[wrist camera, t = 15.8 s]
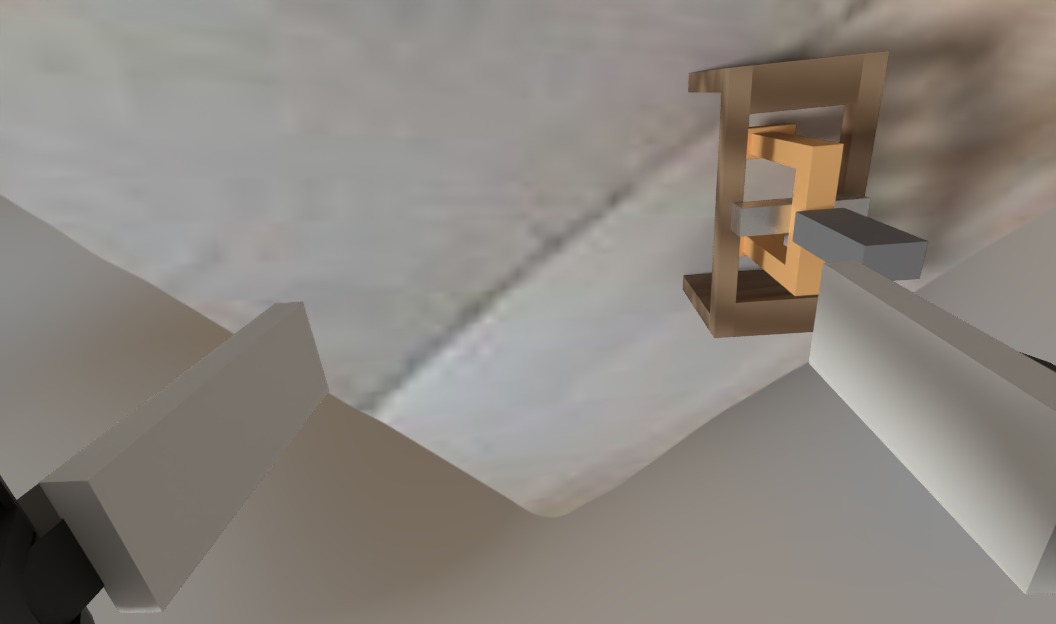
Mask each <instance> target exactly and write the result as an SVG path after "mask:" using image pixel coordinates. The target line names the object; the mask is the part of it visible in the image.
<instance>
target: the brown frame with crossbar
mask: <svg viewBox="0 0 1056 624" xmlns="http://www.w3.org/2000/svg"><path fill="white" fill-rule="evenodd" d="M888 56H889V51H882V52H873V53H864V54H854V55H845V56H835V57H826V58H817V59H807V60H798V61H788V62H779V63H770V64H760V65H751V66H741V67H732V68H724V69H717V70H710V71H702V72H695V73H689V88H688V92H722V93H721V112H720V131H719V150H718V169H717V188H716V207H715V227H714V246H713V265H712V274H699V275H685V276H683V291H684V292H685V294H686V295H687V297H688V298H689V300H690V301H691V303H692V304H693V306H694V308H695V309H696V311H697V312H698V314H699V315H700V317H701V318H702V320H703V321H704V323H705V324H706V326H707V328H708V329H709V331H710V332H711V334H712V335H713V337H714V338H722V337H738V336H754V335H770V334H786V333H802V332H813V330H814V323H815V316H816V309H817V302H818V295H819V294H817V295H802V296H794V295H793V294H792V293H791V292H789V291H788V290H787V289H786V288H785V287H784V286H782V285H781V284H780V283H779V282H778V281H777V280H775V279H774V278H773V277H772V276H771V275H770V274H768V273H767V272H766V271H765V270H754V271H740V272H738V264H739V250H740V237H739V236H738V235H737V234H736V233H734V232H733V231H732V230H731V218H732V203H738V202H743V196H744V182H745V169H746V155H747V142H748V128H749V115H750V114H755V113H765V112H775V111H785V110H795V109H806V108H816V107H826V106H836V105H845V109H844V116H843V123H842V130H841V137H840V143H841V144H844V145H843V152H842V159H841V166H840V172H839V179H838V186H837V193H836V194H844V193H857V194H860V195H863V196H865V192H866V186H867V180H868V174H869V168H870V162H871V156H872V150H873V144H874V138H875V132H876V127H877V121H878V115H879V109H880V103H881V97H882V91H883V85H884V79H885V73H886V68H887V62H888Z"/></svg>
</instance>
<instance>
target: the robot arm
mask: <svg viewBox="0 0 1056 624" xmlns="http://www.w3.org/2000/svg"><path fill="white" fill-rule="evenodd" d="M809 364H810V365H811V366H812V367H813V368H814V369H815V370H816V371H817V372H818V373H819V374H820V376H822V378H823V379H824V380H825V381H826V382H827V383H828V384H829V385H830V386H831V387H832V388H833V389H834V390H835V391H836V393H837V394H838V395H839V396H840V397H841V398H842V399H843V400H844V401H845V402H846V403H847V404H848V405H849V407H851V409H853V411H854V412H855V413H856V414H857V415H858V416H859V417H860V418H861V419H862V420H863V421H864V422H865V424H866V425H868V427H869V428H870V429H871V430H872V431H873V432H874V433H875V434H876V435H877V436H878V437H879V439H881V441H882V442H883V443H884V444H885V445H886V446H887V447H888V448H889V449H890V450H891V451H892V452H893V453H894V455H895V456H897V458H898V459H899V460H900V461H901V462H902V463H903V464H904V465H905V466H906V467H907V468H908V469H909V471H910V472H912V474H913V475H914V476H915V477H916V478H917V479H918V480H919V481H920V482H921V483H922V484H923V486H924V487H925V488H926V489H927V490H928V491H929V492H930V493H931V494H932V495H933V496H934V497H935V498H936V499H937V500H938V501H939V502H940V504H941V505H942V506H943V507H944V508H945V509H946V510H947V511H948V512H949V513H950V514H951V515H952V516H953V518H954V519H955V520H956V521H957V522H958V523H959V524H960V525H961V526H962V527H963V528H964V529H965V530H966V531H967V532H968V534H969V535H970V536H971V537H972V538H973V539H974V540H975V541H976V542H977V543H978V544H979V545H980V546H981V547H982V548H983V550H985V552H986V553H987V554H988V555H989V556H990V557H991V558H992V559H993V560H994V561H995V562H996V563H997V564H998V565H999V567H1000V568H1001V569H1002V570H1003V571H1004V572H1005V573H1006V574H1007V575H1008V576H1009V577H1010V578H1011V579H1012V581H1013V582H1014V583H1015V584H1016V585H1017V586H1018V587H1019V588H1020V589H1021V590H1022V591H1023V592H1024V593H1025V594H1056V366H1055V365H1053V364H1051V363H1049V362H1047V361H1044V360H1041V359H1038V358H1035V357H1032V356H1030V355H1027V354H1024V353H1021V352H1018V351H1016V350H1015V349H1013V348H1011V347H1009V346H1008V345H1006V344H1004V343H1002V342H1000V341H998V340H997V339H995V338H993V337H991V336H989V335H988V334H986V333H984V332H982V331H981V330H979V329H977V328H975V327H974V326H972V325H970V324H968V323H966V322H965V321H963V320H961V319H959V318H958V317H956V316H954V315H952V314H950V313H949V312H947V311H945V310H943V309H941V308H939V307H938V306H936V305H934V304H933V303H931V302H929V301H927V300H925V299H924V298H922V297H920V296H918V295H917V294H915V293H913V292H911V291H909V290H908V289H906V288H904V287H902V286H900V285H899V284H897V283H895V282H893V281H892V280H890V279H888V278H886V277H884V276H883V275H881V274H879V273H877V272H875V271H874V270H872V269H870V268H868V267H867V266H865V265H863V264H861V263H859V262H858V261H847V262H833V263H823V267H822V274H821V281H820V288H819V295H818V302H817V309H816V316H815V323H814V330H813V337H812V344H811V351H810V358H809ZM328 392H329V388H328V384H327V381H326V378H325V374H324V371H323V368H322V364H321V361H320V358H319V354H318V351H317V347H316V344H315V341H314V337H313V334H312V331H311V327H310V324H309V321H308V317H307V314H306V311H305V307H304V304H303V302H290V303H276V304H274V305H273V306H271V307H270V308H269V309H267V310H266V311H265V312H263V313H262V314H261V315H259V316H258V317H257V318H255V319H254V320H253V321H251V322H250V323H249V324H248V325H246V326H245V327H244V328H242V329H241V330H240V331H238V332H237V333H236V334H234V335H233V336H232V337H230V338H229V339H228V340H226V341H225V342H224V343H222V344H221V345H220V346H219V347H217V348H216V349H214V350H213V351H212V352H211V353H209V354H208V355H207V356H205V357H204V358H203V359H201V360H200V361H199V362H197V363H196V364H195V365H193V366H192V367H191V368H189V369H188V370H187V371H185V372H184V373H183V374H181V375H180V376H179V377H178V378H176V379H175V380H174V381H172V382H171V383H170V384H168V385H167V386H166V387H164V388H163V389H162V390H160V391H159V392H158V393H156V394H155V395H154V396H152V397H151V398H150V399H149V400H147V401H146V402H145V403H143V404H142V405H141V406H139V407H138V408H137V409H135V410H134V411H133V412H131V413H130V414H129V415H127V416H126V417H125V418H123V419H122V420H121V421H119V422H118V423H117V424H115V425H114V426H113V427H112V428H110V429H109V430H108V431H106V432H105V433H104V434H102V435H101V436H100V437H98V438H97V439H96V440H94V441H93V442H92V443H90V444H89V445H88V446H86V447H85V448H84V449H82V450H81V451H80V452H78V454H76V455H75V456H73V457H72V458H71V459H69V460H68V461H67V462H65V463H64V464H63V465H61V466H60V467H59V468H57V469H56V470H55V471H53V472H52V473H51V474H50V475H48V476H47V477H45V478H44V479H43V480H42V481H40V482H39V484H37V485H36V486H35V487H33V488H32V489H31V490H29V491H28V492H27V493H25V494H24V495H23V496H22V497H20V498H19V499H18V500H16V499H15V497H14V496H13V494H12V493H11V491H10V490H9V488H8V486H7V485H6V483H5V482H4V480H3V479H2V477H1V476H0V624H95V623H94V620H93V617H92V615H91V613H90V612H89V610H88V609H87V607H86V606H87V604H89V602H90V601H91V600H92V599H93V598H94V597H95V596H96V595H97V594H98V593H99V591H100V590H101V589H102V588H103V587H104V588H105V590H106V592H107V594H108V595H109V597H110V598H111V600H112V602H113V603H114V605H115V606H116V608H117V610H118V611H119V612H120V613H125V612H162V611H163V610H164V609H165V608H166V607H167V605H168V604H169V602H170V601H171V600H172V599H173V597H174V596H175V595H176V593H177V592H178V591H179V589H180V588H181V587H182V585H183V584H184V583H185V581H186V580H187V579H188V577H189V576H190V575H191V573H192V572H193V571H194V569H195V568H196V567H197V566H198V564H199V563H200V561H201V560H202V559H203V557H204V556H205V555H206V554H207V552H208V551H209V550H210V548H211V547H212V546H213V544H214V543H215V542H216V540H217V539H218V538H219V536H220V535H221V533H222V532H223V531H224V530H225V528H226V527H227V526H228V524H229V523H230V521H231V520H232V519H233V518H234V516H235V515H236V514H237V512H238V511H239V510H240V509H241V507H242V506H243V504H244V503H245V502H246V501H247V499H248V498H249V496H250V495H251V494H252V493H253V491H254V490H255V488H256V487H257V486H258V485H259V483H260V482H261V481H262V479H263V478H264V477H265V475H266V474H267V473H268V471H269V470H270V469H271V467H272V466H273V465H274V463H275V462H276V461H277V459H278V458H279V457H280V455H281V454H282V453H283V452H284V450H285V449H286V448H287V446H288V445H289V443H290V442H291V441H292V440H293V438H294V437H295V436H296V434H297V433H298V432H299V430H300V429H301V428H302V426H303V425H304V424H305V422H306V421H307V420H308V418H309V417H310V416H311V414H312V413H313V412H314V410H315V409H316V408H317V406H318V405H319V404H320V402H321V401H322V400H323V398H324V397H325V396H326V394H327V393H328Z"/></svg>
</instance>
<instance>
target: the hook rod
mask: <svg viewBox="0 0 1056 624" xmlns="http://www.w3.org/2000/svg"><path fill="white" fill-rule="evenodd" d="M792 201H793V198H785V199H773V200H761V201H750V202H738V203H732V218H731V230H732V231H733V232H734V233H736V234H737V235H738V236H739V237H744V236H756V235H769V234H782V233H789V227H790V218H791V210H792ZM869 204H870V198H869V197H866V196H863V195H860V194H857V193H844V194H836V200H835V207H834V208H846V209H849V210H851V211H854V212H856V213H859V214H861V215H864V216H866V217H867V216H868V210H869Z"/></svg>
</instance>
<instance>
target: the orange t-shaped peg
mask: <svg viewBox="0 0 1056 624" xmlns="http://www.w3.org/2000/svg"><path fill="white" fill-rule="evenodd" d="M795 132H796V124H790V123H786V124H776V125H765V126H755V127H749V128H748V142H747V155H746V160H748V159H758V158H764V159H767V160H770V161H774V162H777V163H780V164H783V165H786V166H789V167H792V168H795V169H796V174H795V183H794V192H793V201H792V210H791V218H790V227H789V236H788V245H787V247H786V246H785V245H783V242H784V233H782V234H769V235H756V236H744V237H740V250H739V257H741V256H748V257H750V258H751V259H752V260H753V261H754V262H755V263H757V264H758V265H759V266H760V267H761V268H762V269H764V270H765V271H766V272H767V273H768V274H770V275H771V276H772V277H773V278H774V279H775V280H777V281H778V282H779V283H780V284H781V285H782V286H784V287H785V288H786V289H787V290H788V291H789V292H791V293H792V294H793V295H794V296H802V295H817V294H819V288H820V281H821V274H822V267H823V263H833V262H847V261H858V262H859V263H861V264H863V265H865V266H867V267H868V268H870V269H872V270H874V271H875V272H877V273H879V274H881V275H883V276H884V277H886V278H888V279H890V280H892V281H895V280H909V279H920V275H921V270H922V266H923V261H924V257H925V253H926V248H927V244H928V241H926V240H923V239H921V238H918V237H916V236H914V235H911V234H909V233H906V232H904V231H901V230H899V229H896V228H894V227H891V226H889V225H886V224H884V223H881V222H879V221H876V220H874V219H871V218H869V217H866V216H864V215H861V214H859V213H856V212H854V211H851V210H849V209H846V208H834V207H835V200H836V193H837V186H838V179H839V172H840V166H841V159H842V152H843V145H844V144H841V143H836V142H830V141H825V140H819V139H814V138H808V137H802V136H797V135H795Z"/></svg>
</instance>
